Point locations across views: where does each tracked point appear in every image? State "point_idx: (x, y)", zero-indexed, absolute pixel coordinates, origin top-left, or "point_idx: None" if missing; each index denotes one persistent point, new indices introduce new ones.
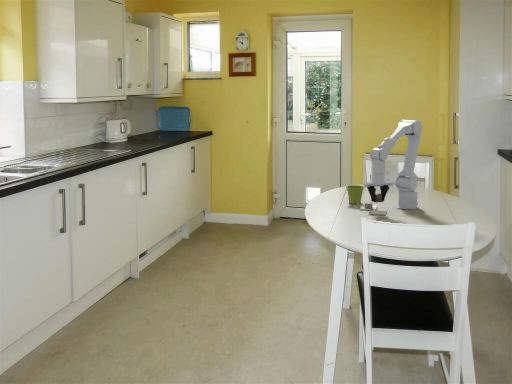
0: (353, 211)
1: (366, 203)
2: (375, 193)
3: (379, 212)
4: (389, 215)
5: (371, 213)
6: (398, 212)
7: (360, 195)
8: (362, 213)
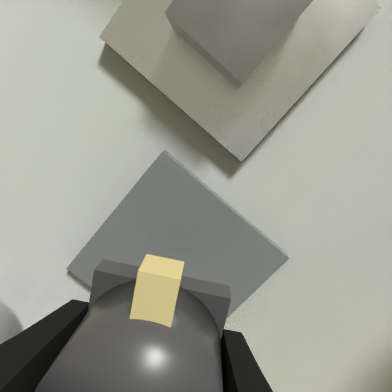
0: (11, 67)
1: (183, 30)
2: (123, 369)
3: (189, 274)
4: None
5: None
6: (370, 317)
7: None
8: (51, 189)
